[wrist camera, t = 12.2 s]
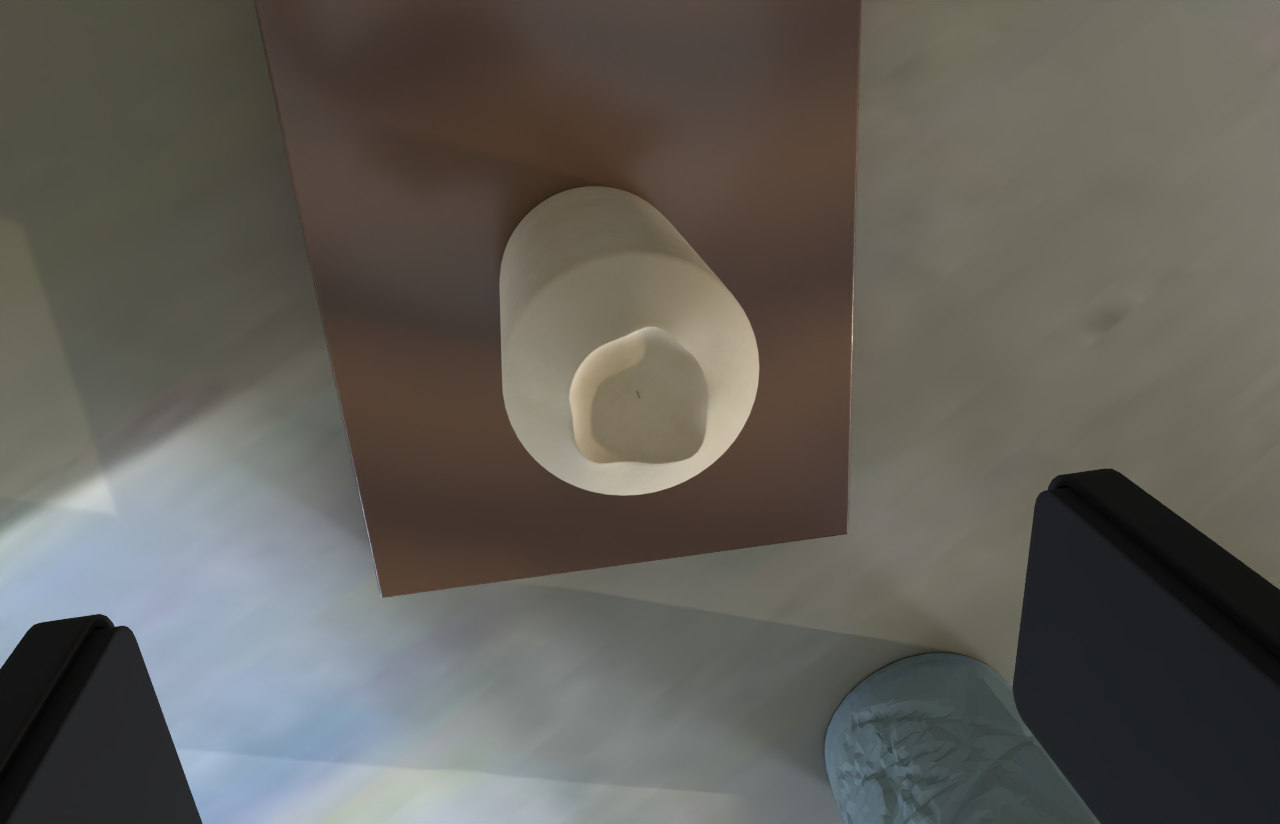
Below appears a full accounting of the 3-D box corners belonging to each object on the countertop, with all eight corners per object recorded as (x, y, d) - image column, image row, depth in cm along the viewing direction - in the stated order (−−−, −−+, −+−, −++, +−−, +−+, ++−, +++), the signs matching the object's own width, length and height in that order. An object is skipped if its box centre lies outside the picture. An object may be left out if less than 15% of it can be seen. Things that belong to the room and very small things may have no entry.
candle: (721, 283, 28) (831, 412, 19) (585, 400, 29) (627, 576, 20) (603, 141, 26) (662, 209, 17) (459, 271, 27) (442, 402, 18)
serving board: (258, -76, 25) (234, -86, 23) (833, -112, 27) (865, -124, 24) (388, 559, 33) (380, 599, 31) (825, 500, 35) (849, 534, 32)
